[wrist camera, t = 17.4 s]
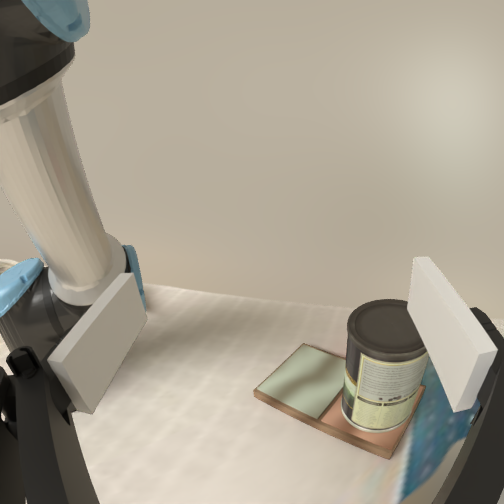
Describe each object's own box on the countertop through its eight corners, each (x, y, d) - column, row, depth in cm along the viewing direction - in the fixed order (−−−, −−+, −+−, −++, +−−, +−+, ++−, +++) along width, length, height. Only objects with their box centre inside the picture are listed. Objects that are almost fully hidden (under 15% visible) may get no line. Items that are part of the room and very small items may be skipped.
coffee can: (324, 403, 40) (328, 322, 35) (376, 368, 45) (387, 289, 39) (376, 447, 32) (399, 369, 26) (426, 403, 36) (452, 322, 31)
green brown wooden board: (254, 396, 45) (253, 389, 44) (303, 349, 54) (303, 342, 53) (389, 459, 31) (392, 453, 31) (423, 392, 40) (426, 385, 39)
